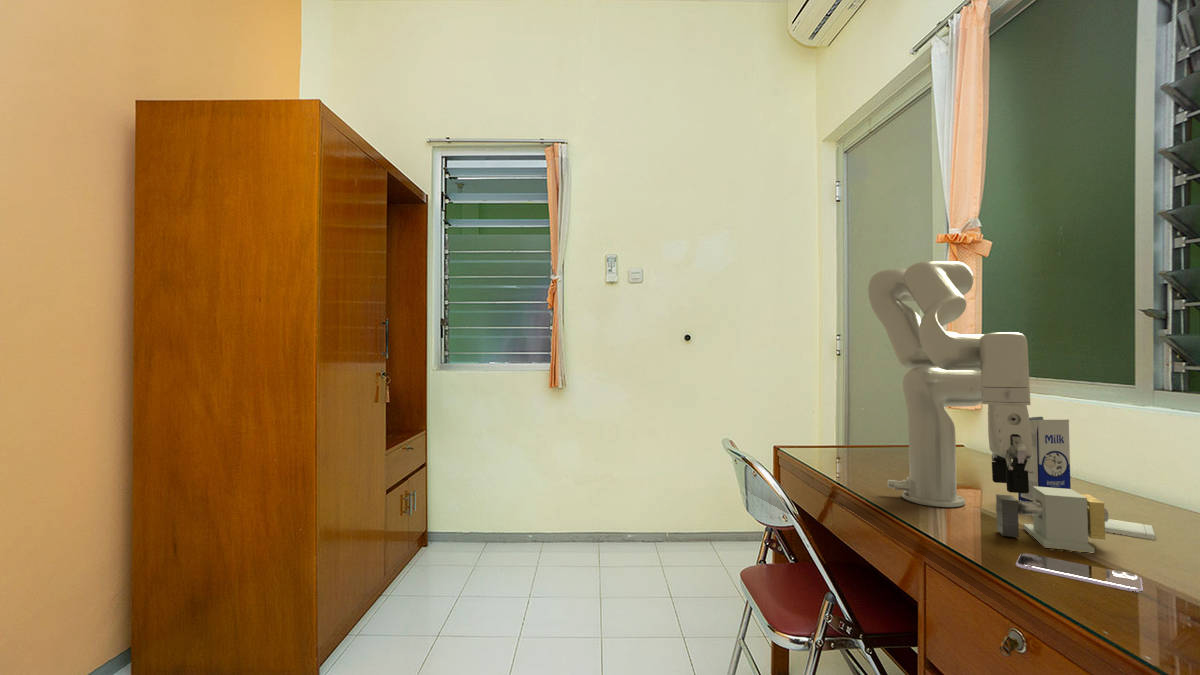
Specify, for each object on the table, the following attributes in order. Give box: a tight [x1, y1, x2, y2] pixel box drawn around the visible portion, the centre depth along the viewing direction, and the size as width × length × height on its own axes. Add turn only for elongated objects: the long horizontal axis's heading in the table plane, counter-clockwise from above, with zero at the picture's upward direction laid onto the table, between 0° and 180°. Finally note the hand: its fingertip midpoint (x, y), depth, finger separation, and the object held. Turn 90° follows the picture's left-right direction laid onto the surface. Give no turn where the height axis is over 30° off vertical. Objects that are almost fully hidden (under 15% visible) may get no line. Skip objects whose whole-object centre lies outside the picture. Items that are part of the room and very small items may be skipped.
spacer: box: [1080, 493, 1106, 540], centre depth 101 cm, size 2×6×6 cm, turn 157°
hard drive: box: [1105, 518, 1156, 541], centre depth 110 cm, size 2×8×12 cm
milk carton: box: [1017, 416, 1072, 502], centre depth 127 cm, size 7×7×20 cm
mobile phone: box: [1015, 552, 1144, 593], centre depth 88 cm, size 8×1×15 cm
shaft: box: [995, 494, 1109, 538], centre depth 103 cm, size 16×4×7 cm, turn 67°
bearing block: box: [1022, 486, 1095, 553], centre depth 103 cm, size 7×12×9 cm, turn 157°
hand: (1009, 487), depth 105 cm, fingers open, 9 cm apart
